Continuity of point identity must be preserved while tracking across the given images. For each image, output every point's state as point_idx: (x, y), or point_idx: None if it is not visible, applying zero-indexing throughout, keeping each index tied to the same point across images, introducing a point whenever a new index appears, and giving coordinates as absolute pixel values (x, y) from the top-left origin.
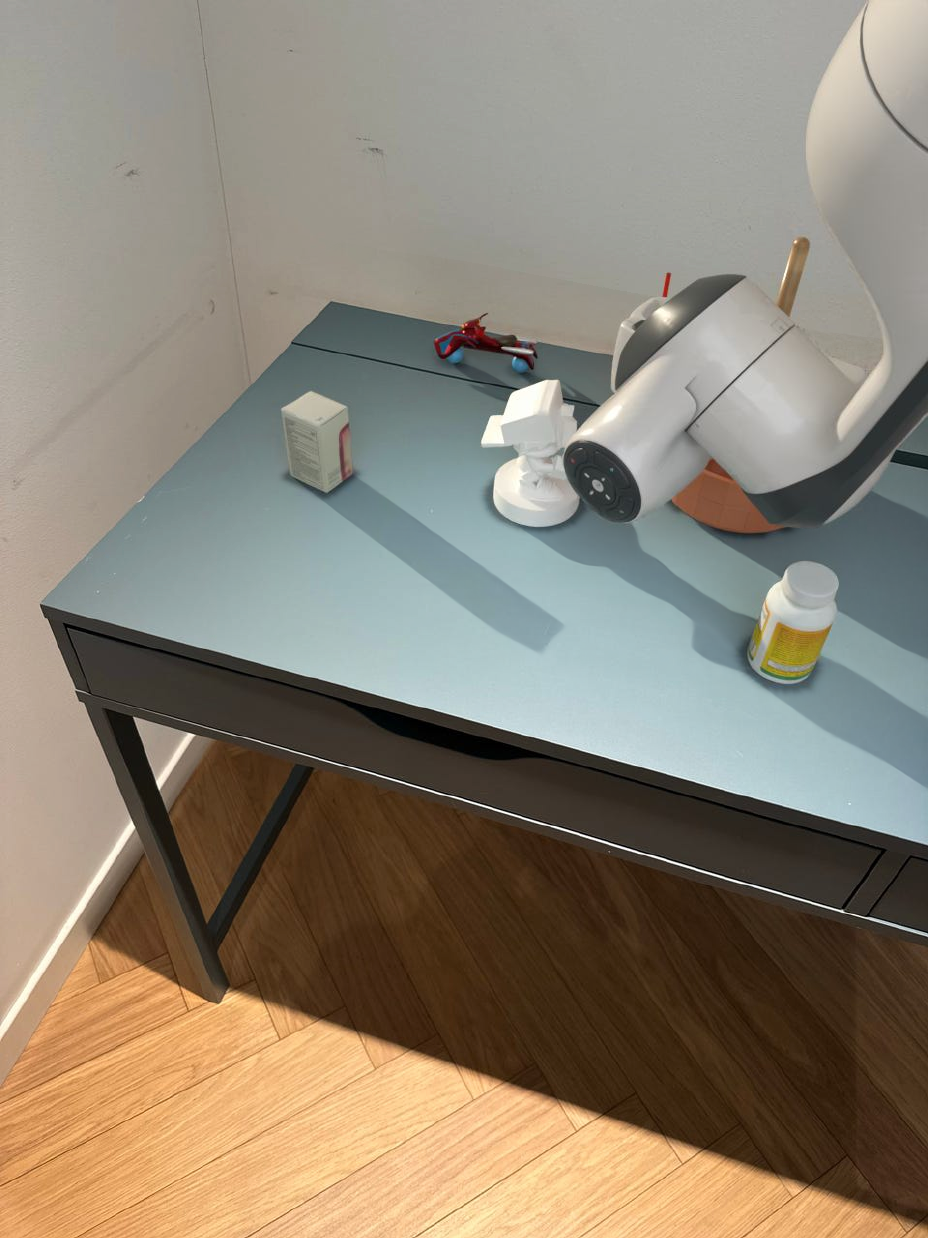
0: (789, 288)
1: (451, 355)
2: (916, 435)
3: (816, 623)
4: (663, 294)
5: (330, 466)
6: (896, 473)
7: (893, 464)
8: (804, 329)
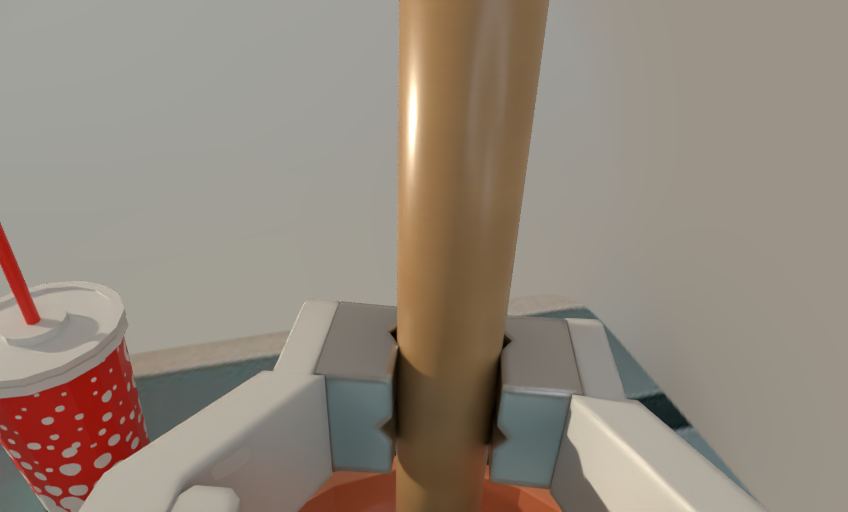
0: (496, 85)
1: None
2: (625, 351)
3: None
4: (2, 266)
5: None
6: None
7: None
8: (599, 325)
